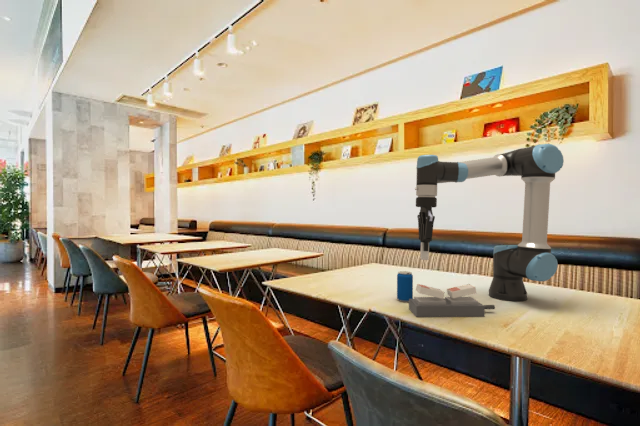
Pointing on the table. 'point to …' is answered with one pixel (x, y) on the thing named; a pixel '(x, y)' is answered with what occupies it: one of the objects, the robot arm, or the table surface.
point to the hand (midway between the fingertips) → (424, 259)
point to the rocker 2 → (461, 291)
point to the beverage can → (404, 286)
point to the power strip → (447, 307)
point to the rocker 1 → (430, 291)
